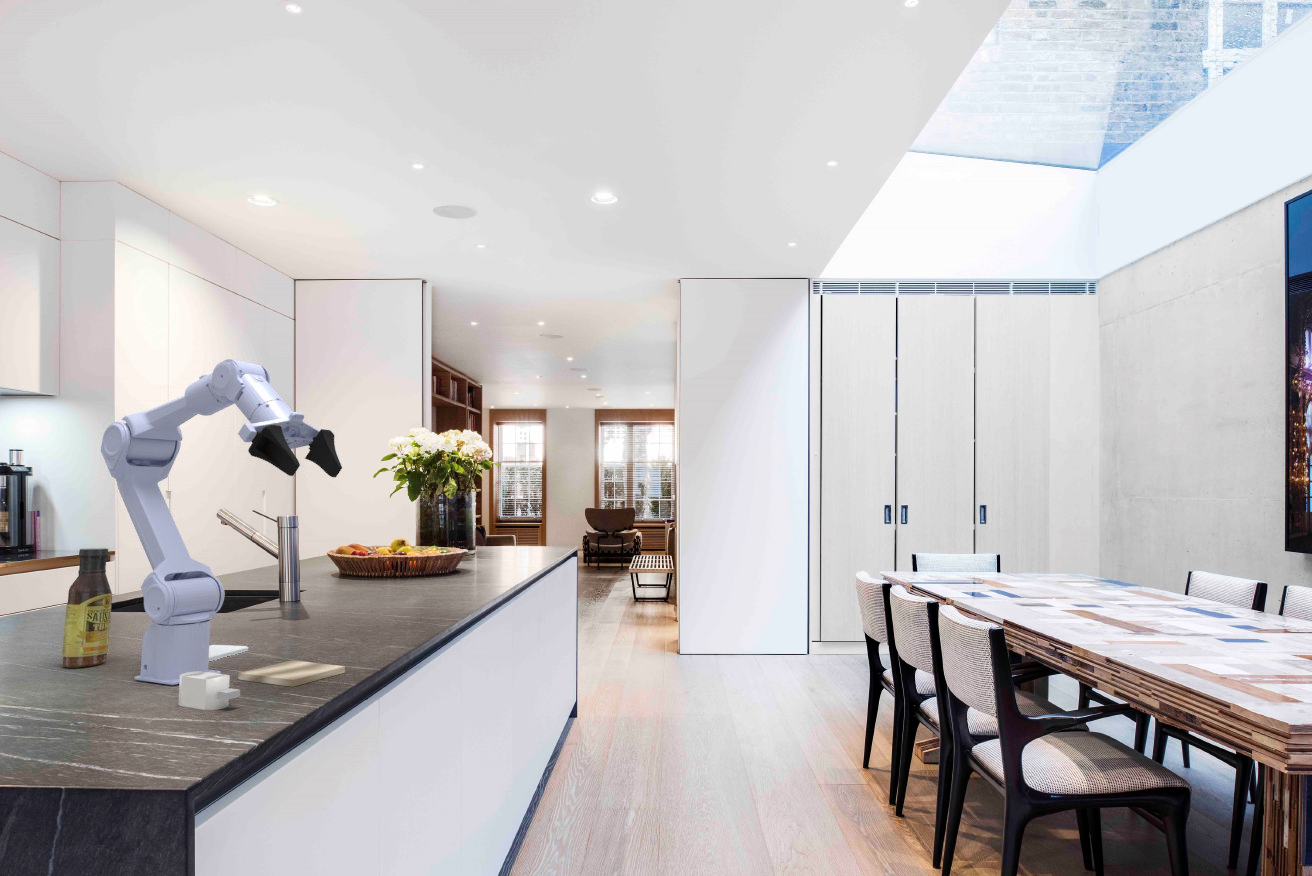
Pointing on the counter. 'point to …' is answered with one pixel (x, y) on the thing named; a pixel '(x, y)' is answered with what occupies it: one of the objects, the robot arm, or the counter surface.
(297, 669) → the birch board
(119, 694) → the counter surface
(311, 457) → the robot arm
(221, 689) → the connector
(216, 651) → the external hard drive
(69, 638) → the sauce bottle
